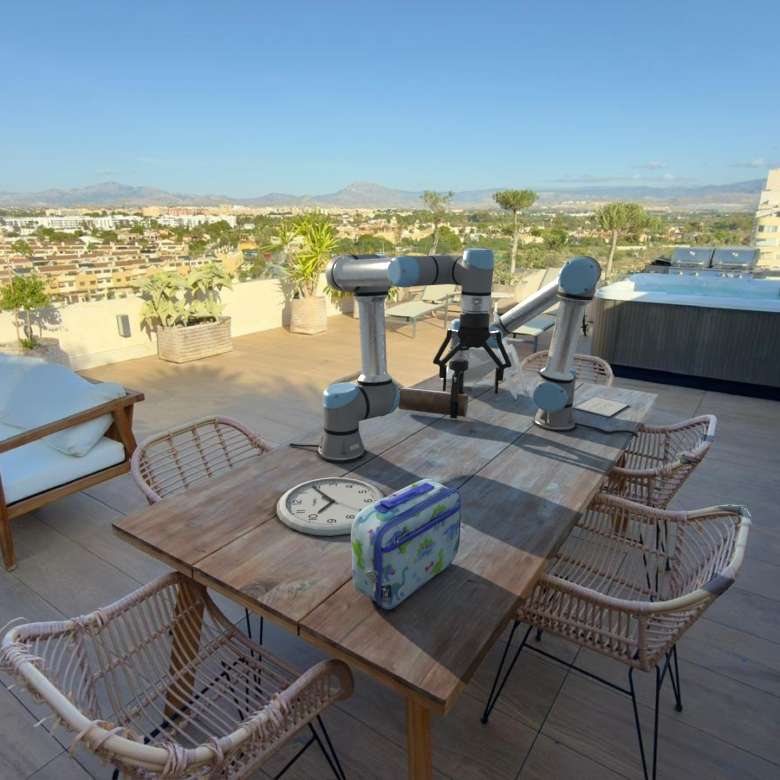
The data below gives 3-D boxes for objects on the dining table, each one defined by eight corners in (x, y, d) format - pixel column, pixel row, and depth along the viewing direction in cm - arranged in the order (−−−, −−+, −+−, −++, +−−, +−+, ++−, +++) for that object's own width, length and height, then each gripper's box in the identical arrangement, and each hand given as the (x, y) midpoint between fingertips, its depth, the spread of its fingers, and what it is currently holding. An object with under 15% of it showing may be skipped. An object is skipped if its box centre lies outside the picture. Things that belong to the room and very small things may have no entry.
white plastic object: (461, 429, 252) (437, 405, 227) (444, 352, 274) (420, 323, 250) (535, 404, 240) (518, 377, 215) (510, 326, 262) (492, 293, 237)
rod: (467, 412, 212) (468, 391, 209) (463, 420, 204) (465, 398, 201) (403, 405, 219) (404, 384, 217) (397, 412, 211) (398, 391, 209)
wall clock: (392, 527, 129) (268, 531, 127) (391, 533, 130) (269, 537, 127) (383, 473, 158) (282, 475, 155) (383, 478, 158) (282, 480, 156)
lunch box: (380, 623, 100) (381, 528, 94) (344, 596, 108) (343, 505, 101) (464, 565, 118) (470, 482, 112) (428, 545, 125) (432, 466, 119)
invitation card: (608, 416, 214) (573, 407, 224) (608, 416, 214) (573, 408, 224) (628, 404, 229) (594, 396, 238) (628, 405, 229) (594, 397, 238)
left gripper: (425, 311, 131) (422, 392, 137) (527, 315, 128) (519, 397, 134) (426, 307, 138) (423, 384, 144) (523, 310, 135) (516, 389, 142)
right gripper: (454, 352, 213) (451, 404, 220) (443, 365, 193) (441, 422, 200) (472, 354, 211) (469, 406, 218) (464, 366, 191) (460, 424, 198)
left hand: (469, 391), depth 139 cm, fingers open, 13 cm apart
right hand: (455, 414), depth 209 cm, fingers closed on rod, 9 cm apart
